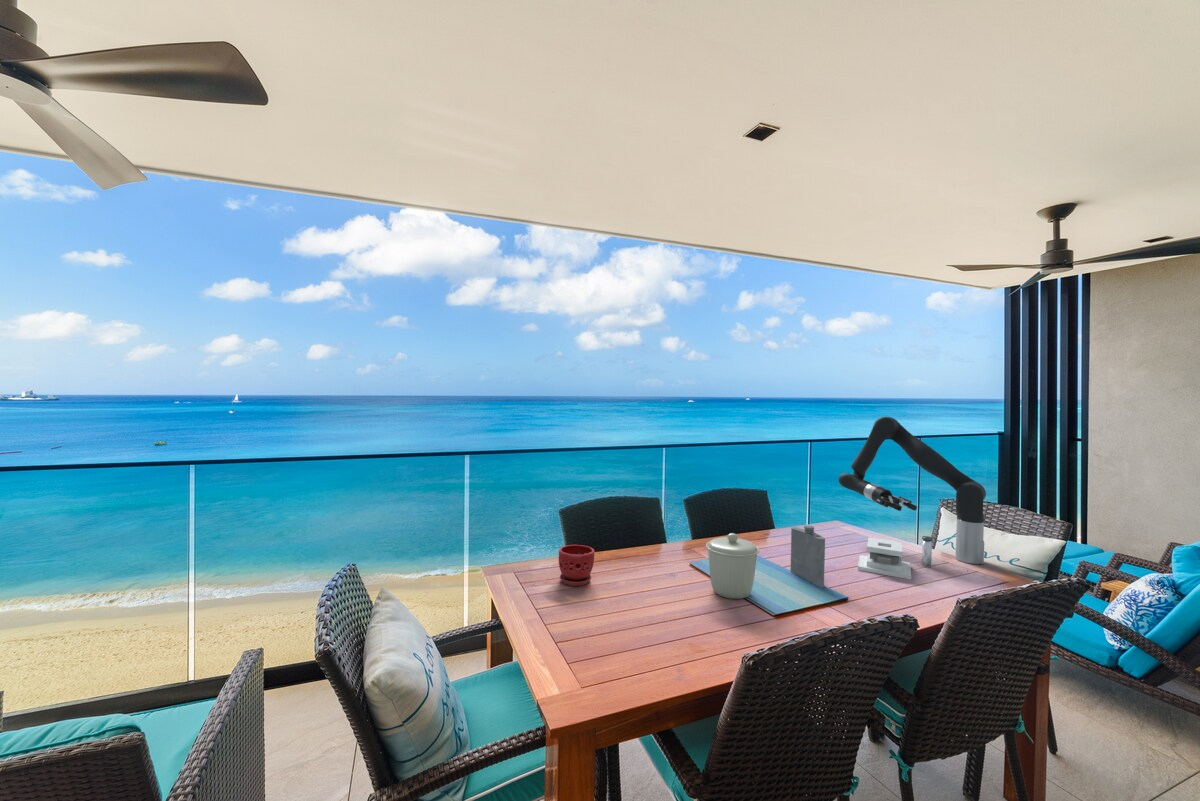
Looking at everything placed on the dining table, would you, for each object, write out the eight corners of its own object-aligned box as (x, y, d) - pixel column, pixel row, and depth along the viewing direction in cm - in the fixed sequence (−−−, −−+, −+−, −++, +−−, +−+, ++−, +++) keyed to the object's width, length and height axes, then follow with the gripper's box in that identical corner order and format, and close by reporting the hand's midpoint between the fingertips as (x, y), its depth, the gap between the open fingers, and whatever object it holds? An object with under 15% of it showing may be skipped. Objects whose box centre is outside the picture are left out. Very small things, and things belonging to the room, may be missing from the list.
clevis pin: (931, 565, 202) (932, 536, 202) (932, 568, 199) (933, 539, 198) (921, 564, 204) (921, 535, 203) (921, 566, 201) (922, 537, 200)
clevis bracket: (909, 566, 201) (910, 543, 201) (911, 580, 186) (911, 555, 186) (859, 558, 210) (860, 536, 210) (857, 570, 195) (858, 547, 195)
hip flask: (788, 571, 194) (789, 521, 193) (796, 570, 195) (798, 520, 195) (819, 587, 179) (820, 532, 178) (827, 585, 180) (829, 531, 180)
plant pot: (589, 589, 174) (590, 556, 174) (554, 586, 177) (554, 553, 176) (597, 576, 187) (597, 544, 187) (563, 573, 189) (564, 542, 189)
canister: (721, 607, 162) (722, 543, 161) (696, 585, 179) (697, 528, 178) (769, 601, 166) (770, 539, 166) (740, 580, 184) (741, 524, 183)
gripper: (867, 486, 223) (897, 500, 208) (891, 486, 227) (922, 500, 212) (863, 502, 224) (893, 517, 209) (887, 501, 229) (918, 516, 213)
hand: (908, 508), depth 211 cm, fingers open, 8 cm apart
